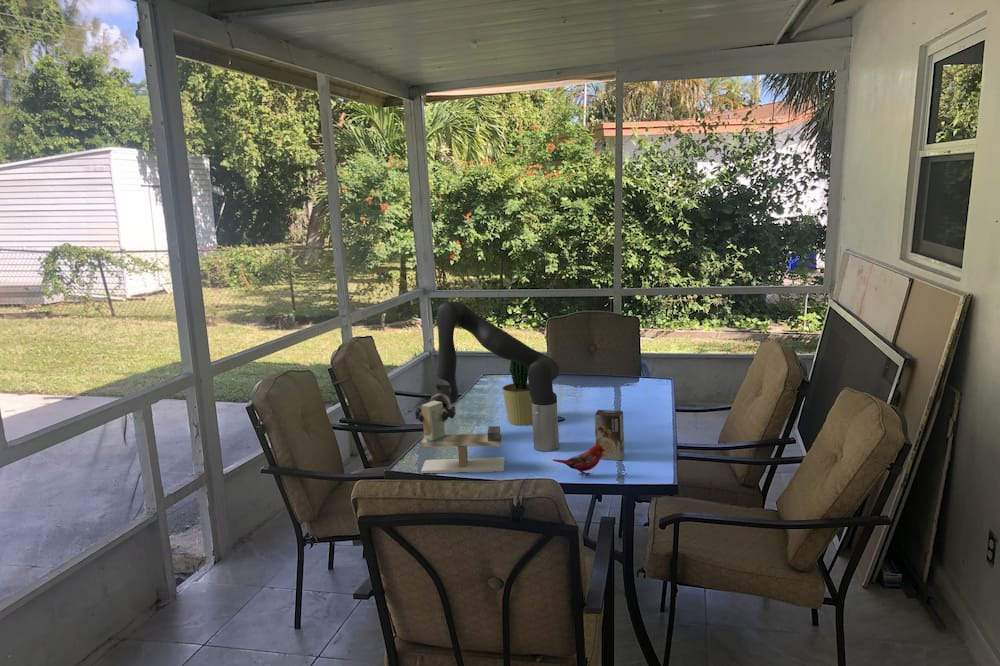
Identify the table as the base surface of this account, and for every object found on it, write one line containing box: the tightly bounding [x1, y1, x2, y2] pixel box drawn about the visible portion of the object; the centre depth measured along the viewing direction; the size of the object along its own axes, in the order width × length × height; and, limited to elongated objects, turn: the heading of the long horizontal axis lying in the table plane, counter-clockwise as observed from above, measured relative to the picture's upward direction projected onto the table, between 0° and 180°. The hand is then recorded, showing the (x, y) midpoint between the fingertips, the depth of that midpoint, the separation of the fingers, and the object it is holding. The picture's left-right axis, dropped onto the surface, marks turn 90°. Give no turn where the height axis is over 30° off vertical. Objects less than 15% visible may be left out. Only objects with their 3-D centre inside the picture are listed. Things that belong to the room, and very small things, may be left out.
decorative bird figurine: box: [552, 444, 605, 475], centre depth 218 cm, size 3×18×10 cm, turn 95°
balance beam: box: [420, 425, 503, 448], centre depth 230 cm, size 27×8×4 cm, turn 88°
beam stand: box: [420, 446, 506, 475], centre depth 231 cm, size 28×10×8 cm, turn 88°
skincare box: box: [421, 401, 446, 441], centre depth 229 cm, size 6×4×12 cm
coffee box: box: [594, 409, 625, 461], centre depth 233 cm, size 9×6×16 cm
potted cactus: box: [501, 360, 533, 427], centre depth 276 cm, size 15×15×30 cm
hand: (432, 419), depth 227 cm, fingers closed on skincare box, 7 cm apart
